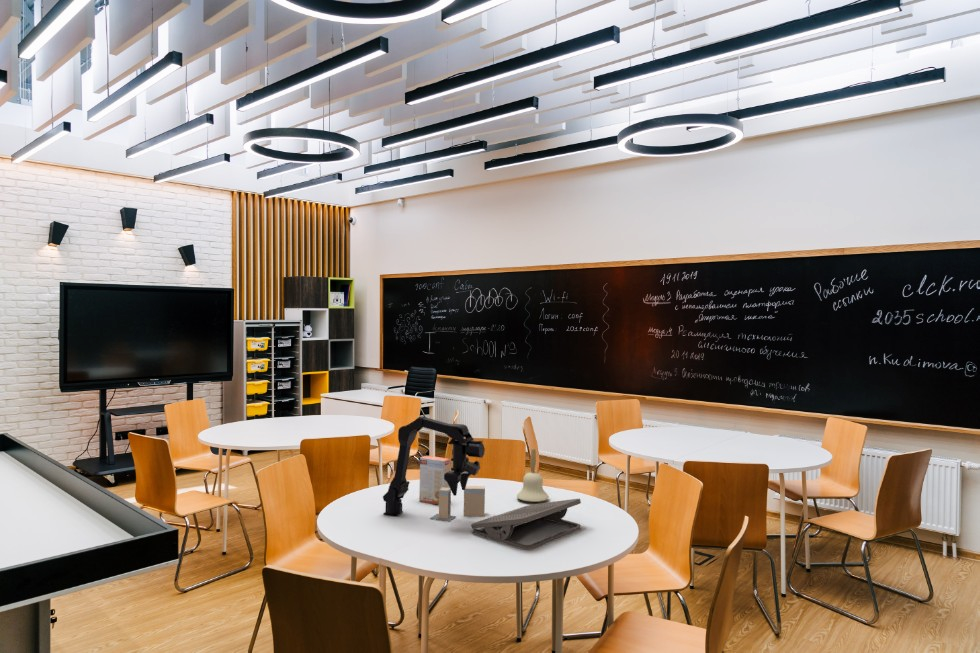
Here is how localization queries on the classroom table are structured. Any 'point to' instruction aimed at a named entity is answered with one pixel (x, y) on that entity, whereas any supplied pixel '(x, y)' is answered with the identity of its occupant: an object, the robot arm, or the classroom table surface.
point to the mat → (442, 518)
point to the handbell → (532, 484)
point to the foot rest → (527, 514)
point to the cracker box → (432, 477)
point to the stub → (444, 503)
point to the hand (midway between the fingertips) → (459, 492)
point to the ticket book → (474, 501)
